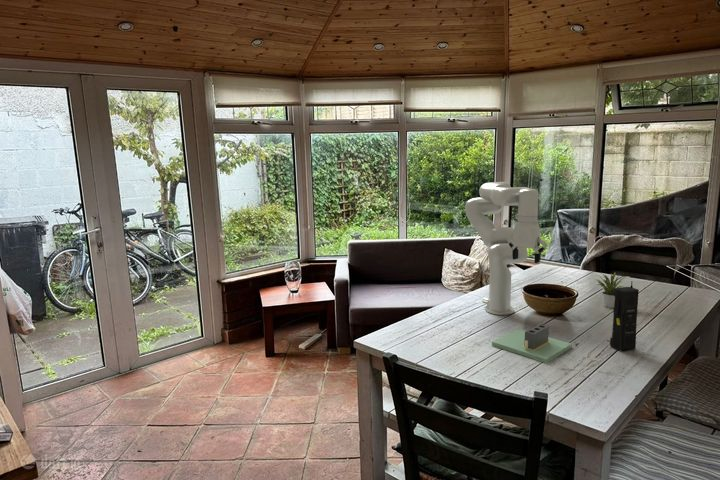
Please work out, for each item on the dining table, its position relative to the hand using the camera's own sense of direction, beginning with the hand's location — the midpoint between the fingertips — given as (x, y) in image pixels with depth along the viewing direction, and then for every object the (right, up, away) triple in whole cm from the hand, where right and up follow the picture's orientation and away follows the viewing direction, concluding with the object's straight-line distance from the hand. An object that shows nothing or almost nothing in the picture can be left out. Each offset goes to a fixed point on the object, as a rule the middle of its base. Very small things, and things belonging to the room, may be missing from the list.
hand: (526, 260), depth 196 cm
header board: (-3, -32, -15) cm, 35 cm away
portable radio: (+29, -32, -19) cm, 47 cm away
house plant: (+50, -23, +28) cm, 61 cm away
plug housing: (-2, -30, -17) cm, 35 cm away
